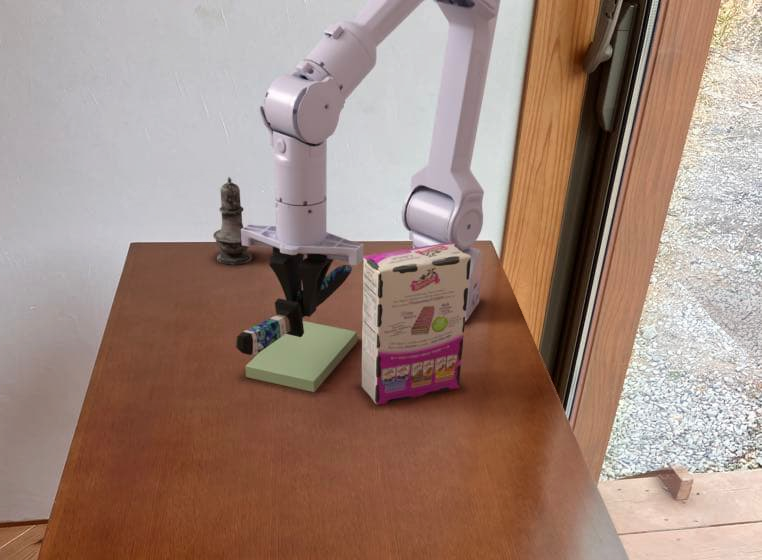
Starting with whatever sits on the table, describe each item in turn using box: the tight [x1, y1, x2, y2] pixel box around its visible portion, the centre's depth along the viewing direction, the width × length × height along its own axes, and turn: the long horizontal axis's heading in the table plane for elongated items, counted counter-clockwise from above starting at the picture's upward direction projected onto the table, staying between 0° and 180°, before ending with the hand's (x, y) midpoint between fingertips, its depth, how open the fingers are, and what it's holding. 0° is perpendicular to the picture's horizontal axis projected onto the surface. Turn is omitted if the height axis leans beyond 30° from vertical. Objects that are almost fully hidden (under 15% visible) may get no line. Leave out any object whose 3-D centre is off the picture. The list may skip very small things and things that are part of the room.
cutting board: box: [245, 320, 358, 393], centre depth 111 cm, size 9×14×2 cm, turn 159°
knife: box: [235, 264, 353, 357], centre depth 106 cm, size 31×3×4 cm, turn 154°
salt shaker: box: [212, 176, 253, 266], centre depth 131 cm, size 6×6×12 cm
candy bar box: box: [361, 242, 471, 406], centre depth 101 cm, size 11×5×16 cm, turn 114°
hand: (302, 311), depth 107 cm, fingers closed on knife
